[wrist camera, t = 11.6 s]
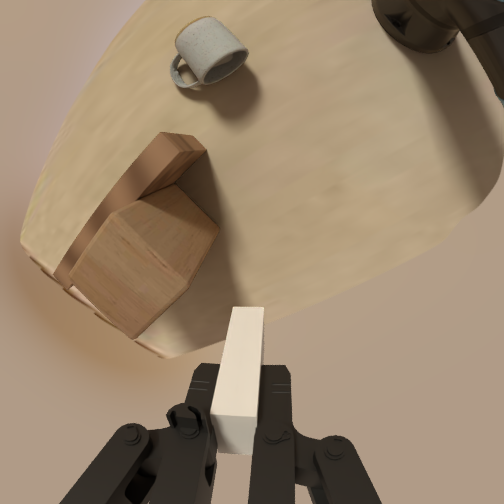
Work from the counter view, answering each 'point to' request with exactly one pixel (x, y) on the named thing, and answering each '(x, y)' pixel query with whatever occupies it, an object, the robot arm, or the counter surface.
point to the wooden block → (144, 258)
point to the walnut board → (136, 188)
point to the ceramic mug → (207, 51)
